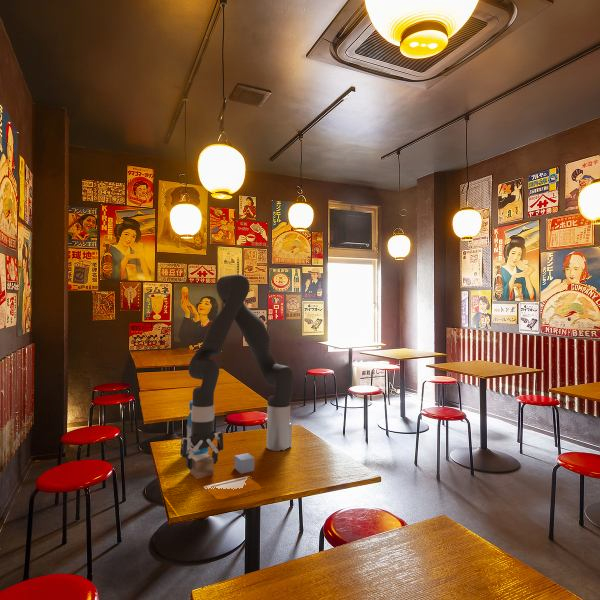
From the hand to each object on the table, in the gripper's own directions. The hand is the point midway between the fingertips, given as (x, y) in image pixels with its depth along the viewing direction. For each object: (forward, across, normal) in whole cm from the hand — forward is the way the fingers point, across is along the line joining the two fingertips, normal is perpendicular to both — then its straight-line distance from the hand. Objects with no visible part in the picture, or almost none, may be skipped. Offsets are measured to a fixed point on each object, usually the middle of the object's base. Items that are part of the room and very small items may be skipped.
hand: (202, 466), depth 144 cm
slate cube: (+3, -14, +4) cm, 15 cm away
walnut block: (+3, 0, 0) cm, 3 cm away
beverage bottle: (+3, -6, -20) cm, 21 cm away
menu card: (+3, -5, +15) cm, 16 cm away
